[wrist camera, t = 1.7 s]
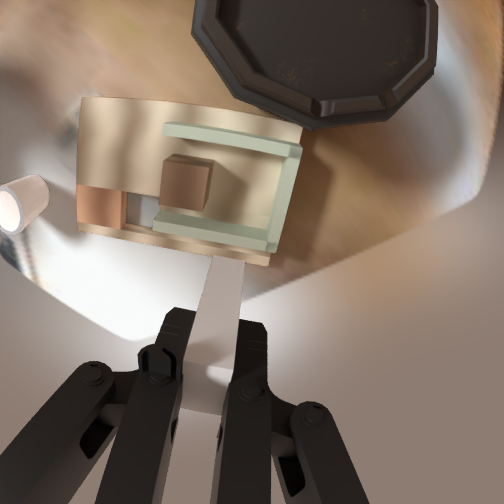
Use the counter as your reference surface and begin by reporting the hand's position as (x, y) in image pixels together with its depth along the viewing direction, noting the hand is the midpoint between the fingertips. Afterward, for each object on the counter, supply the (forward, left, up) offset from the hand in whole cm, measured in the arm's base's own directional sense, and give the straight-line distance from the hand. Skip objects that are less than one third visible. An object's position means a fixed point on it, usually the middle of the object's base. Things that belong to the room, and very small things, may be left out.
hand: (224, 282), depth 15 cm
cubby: (-2, -1, -20) cm, 20 cm away
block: (-6, -1, -20) cm, 21 cm away
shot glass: (-29, -7, -22) cm, 37 cm away
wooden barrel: (+3, +16, -22) cm, 27 cm away
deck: (-8, -2, -22) cm, 23 cm away
